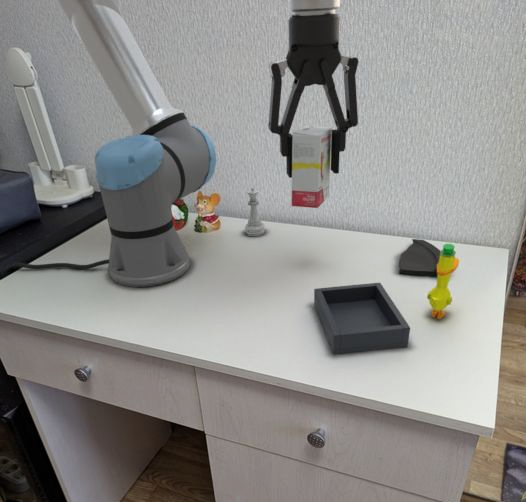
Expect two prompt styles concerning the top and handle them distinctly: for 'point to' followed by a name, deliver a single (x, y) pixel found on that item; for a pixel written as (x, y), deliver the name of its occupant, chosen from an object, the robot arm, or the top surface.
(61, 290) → the top surface
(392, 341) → the dark gray rectangular tray
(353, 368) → the top surface
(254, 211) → the chess piece
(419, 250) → the dark sector wedge
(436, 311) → the toy figure
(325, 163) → the ink box
